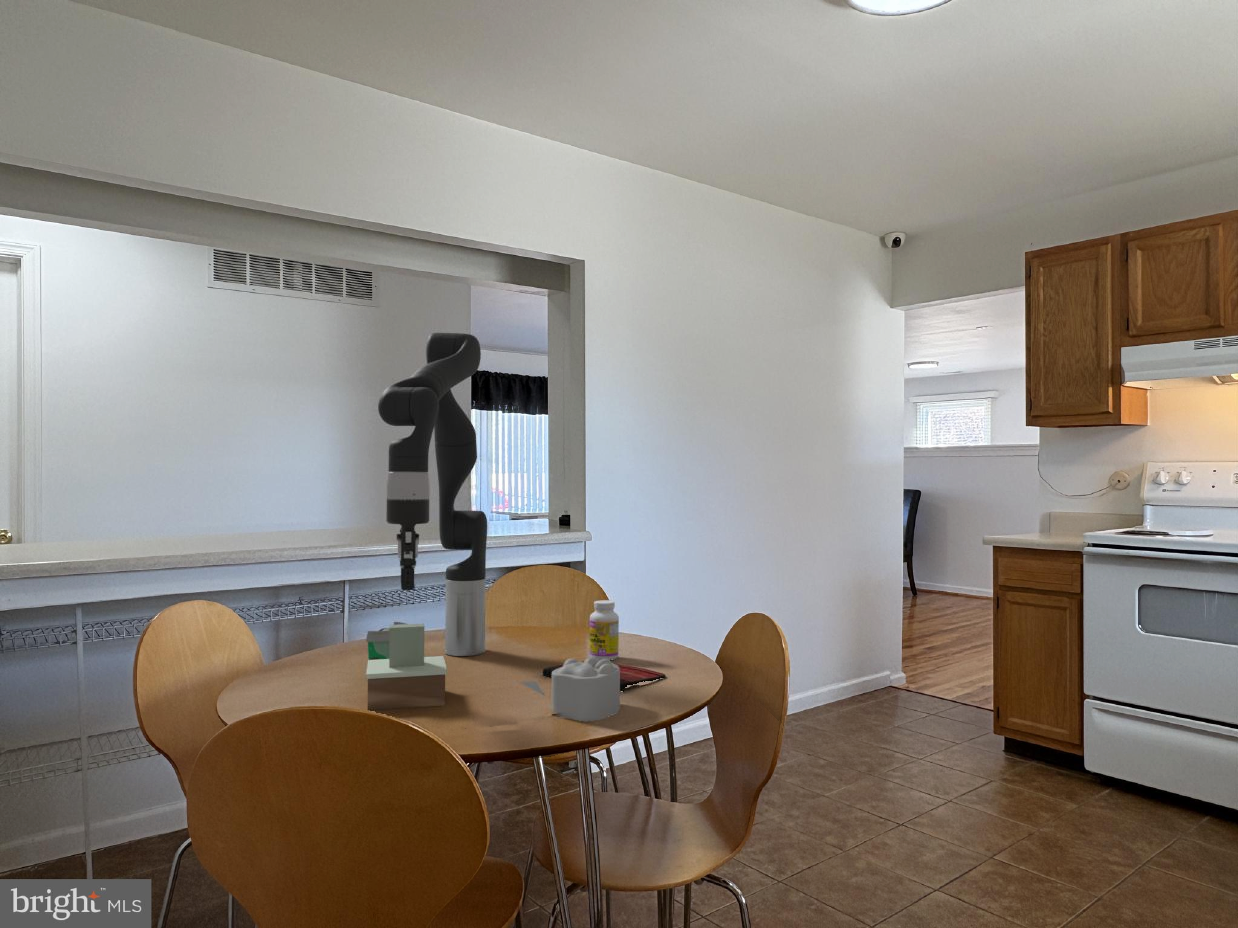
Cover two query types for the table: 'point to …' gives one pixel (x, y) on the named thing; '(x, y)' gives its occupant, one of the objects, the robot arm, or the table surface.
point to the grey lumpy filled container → (586, 689)
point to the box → (406, 692)
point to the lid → (406, 655)
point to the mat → (533, 686)
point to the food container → (379, 643)
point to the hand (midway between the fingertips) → (407, 587)
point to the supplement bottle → (604, 631)
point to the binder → (623, 675)
